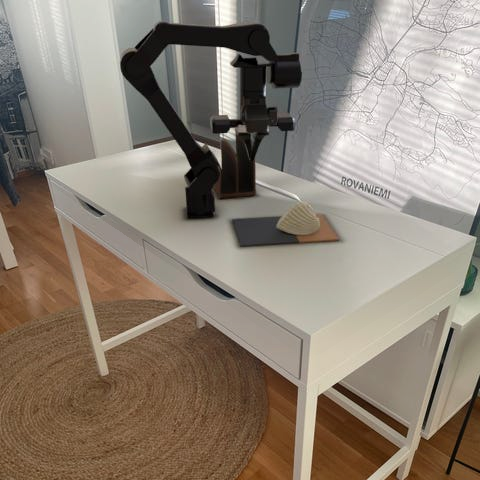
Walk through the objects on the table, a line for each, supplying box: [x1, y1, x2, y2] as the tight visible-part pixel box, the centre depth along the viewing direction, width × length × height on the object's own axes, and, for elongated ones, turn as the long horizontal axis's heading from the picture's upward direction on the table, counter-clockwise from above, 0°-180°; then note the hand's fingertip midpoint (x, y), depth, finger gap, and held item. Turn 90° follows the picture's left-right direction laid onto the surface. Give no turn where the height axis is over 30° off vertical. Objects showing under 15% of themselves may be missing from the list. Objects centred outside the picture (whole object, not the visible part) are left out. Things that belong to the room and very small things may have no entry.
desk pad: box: [232, 213, 340, 248], centre depth 112 cm, size 22×14×1 cm, turn 98°
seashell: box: [276, 200, 320, 235], centre depth 110 cm, size 8×8×8 cm
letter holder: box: [210, 132, 257, 199], centre depth 132 cm, size 10×20×14 cm, turn 14°
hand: (251, 161), depth 115 cm, fingers closed
